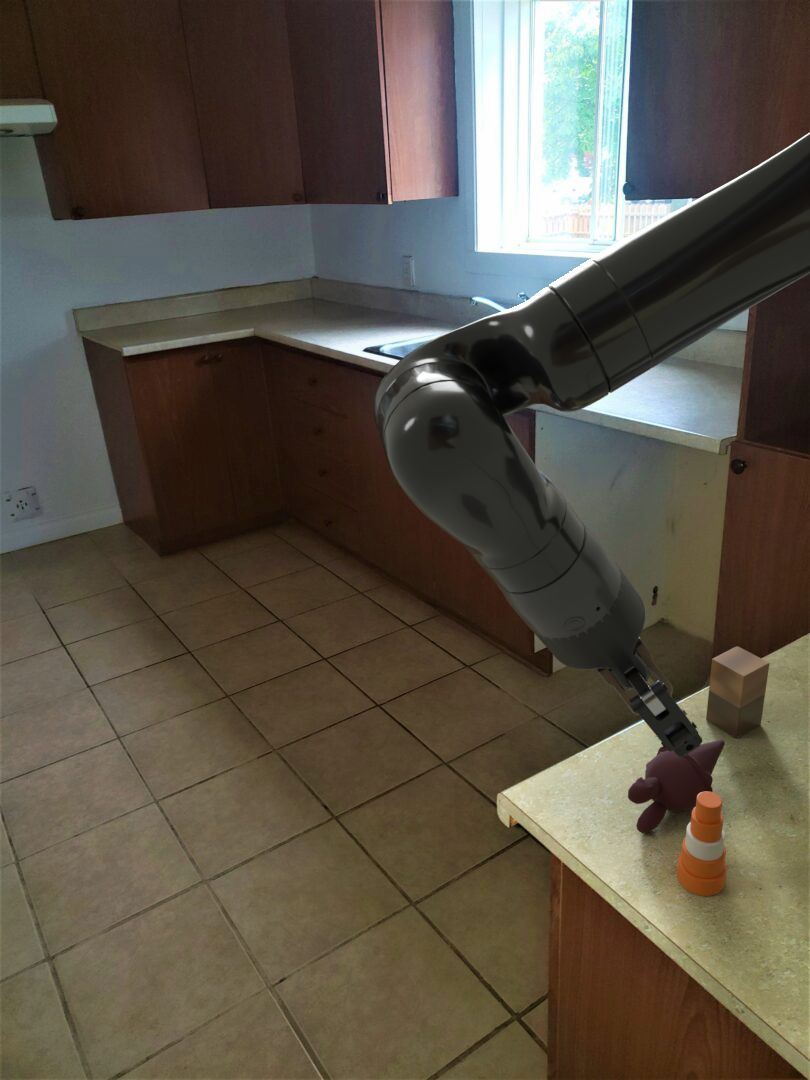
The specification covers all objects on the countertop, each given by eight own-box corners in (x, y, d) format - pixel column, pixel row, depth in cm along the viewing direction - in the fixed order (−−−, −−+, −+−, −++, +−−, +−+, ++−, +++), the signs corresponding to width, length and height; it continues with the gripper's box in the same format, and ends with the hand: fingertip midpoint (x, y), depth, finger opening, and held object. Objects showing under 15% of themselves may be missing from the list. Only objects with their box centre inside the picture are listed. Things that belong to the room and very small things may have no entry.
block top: (765, 694, 97) (769, 662, 95) (740, 708, 95) (744, 676, 93) (733, 676, 100) (737, 645, 98) (708, 689, 98) (711, 658, 96)
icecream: (689, 705, 93) (599, 774, 86) (747, 723, 87) (655, 798, 80) (701, 757, 95) (614, 828, 88) (758, 778, 89) (669, 856, 82)
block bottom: (761, 724, 99) (765, 694, 97) (736, 739, 97) (740, 708, 95) (730, 706, 102) (733, 676, 100) (705, 719, 100) (708, 689, 98)
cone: (734, 881, 79) (745, 803, 74) (703, 903, 77) (712, 824, 72) (698, 853, 82) (706, 776, 78) (667, 873, 80) (673, 795, 76)
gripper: (664, 619, 50) (753, 746, 59) (571, 509, 62) (657, 628, 71) (565, 689, 51) (667, 803, 60) (492, 567, 63) (587, 677, 72)
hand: (662, 708), depth 66 cm, fingers open, 8 cm apart
